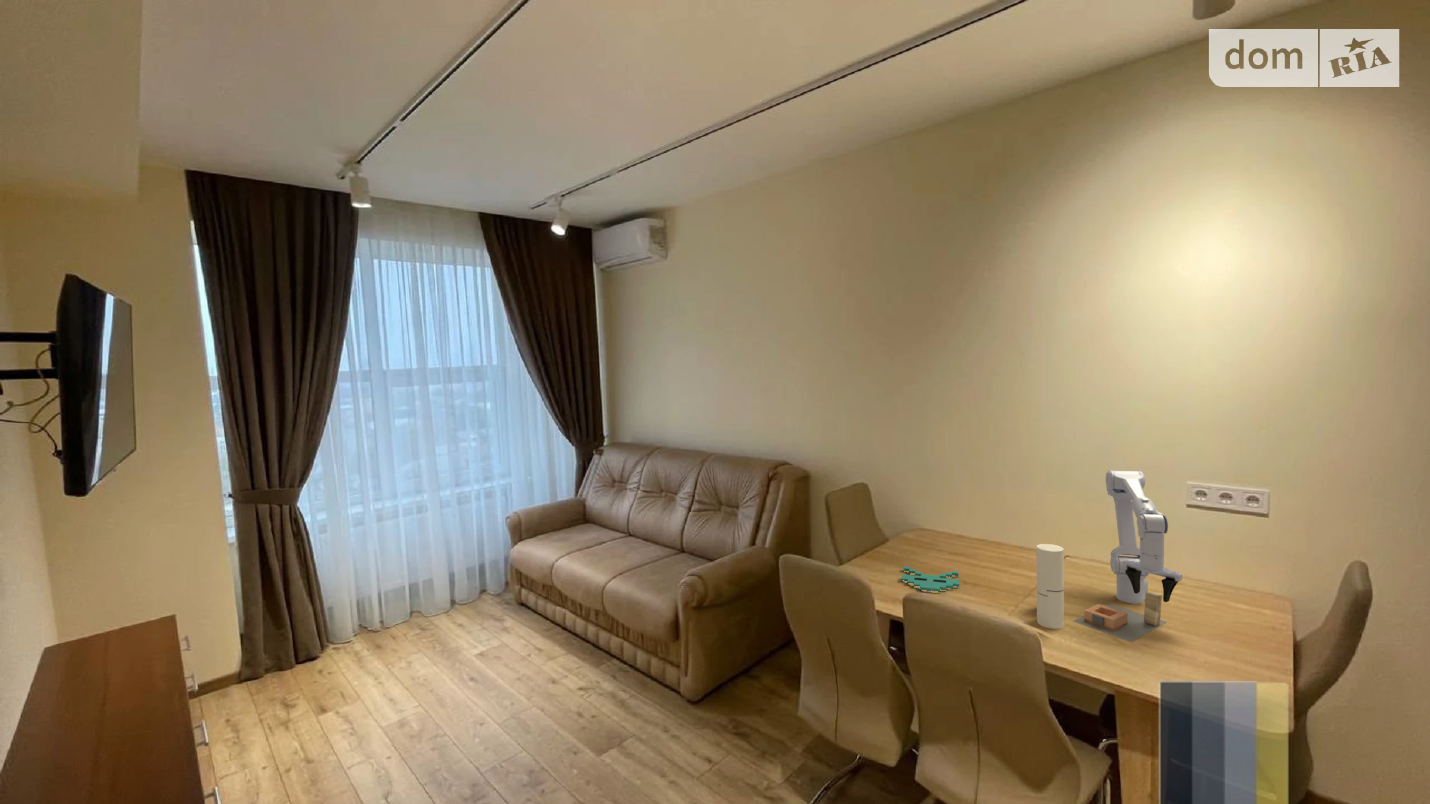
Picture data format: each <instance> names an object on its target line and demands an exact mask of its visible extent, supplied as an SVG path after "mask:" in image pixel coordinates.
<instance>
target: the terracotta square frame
mask: <svg viewBox="0 0 1430 804" xmlns="http://www.w3.org/2000/svg"><path fill="white" fill-rule="evenodd" d="M1083 613H1084V615H1083V616H1084V621H1086V622H1089V623H1092V624H1095V625H1097V626H1100V627H1103V628H1106V629H1109V630H1112V631H1115V630H1117V629H1119V628H1121V627H1123V626H1125V625H1126V624H1127V617H1128V613H1125V612H1122V611H1119V610H1117V609H1114V608H1110V607H1107V606H1105V605H1103V604H1099V603H1097V604H1094V605H1093V606H1090V607H1088V608H1087V609H1084V611H1083Z"/></svg>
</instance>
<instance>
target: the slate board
mask: <svg viewBox="0 0 1430 804" xmlns="http://www.w3.org/2000/svg"><path fill="white" fill-rule="evenodd" d="M1104 606H1107V607H1110V608H1114V609H1117V610H1119V611H1122V612H1125V613H1128V617H1127V624H1126V625H1125V626H1123V627H1121V628H1119V629H1117V630H1115V631H1112V630H1109V629H1106V628H1103V627H1100V626H1097V625H1095V624H1092V623H1089V622H1086V621H1084V615H1083V616H1080V617H1077V618H1076V619H1074V620H1073V622H1075V623H1077V624H1080V625H1083V626H1085V627H1088V628H1091V629H1093V630H1096V631H1099V632H1102V633H1105V634H1107V635H1110V636H1113V637H1116V638H1119V639H1121V640H1125V641H1127V642H1130V643H1133V642H1135V641H1136V640H1138V639H1140V638H1142V637H1143V636H1145V635H1147V634H1149V633H1150V632H1152V631H1154V630H1155V629H1157V628H1159V627H1161V626H1163V625H1164V624H1166V623H1167V621H1165V620H1163V619H1160V624H1159V625H1156V626H1154V625H1151V624H1148V623H1145V622H1144V613H1140V612H1137V611H1134V610H1131V609H1127V608H1124V607H1122V606H1117V605H1114V604H1111V603H1108V604H1106V605H1104Z"/></svg>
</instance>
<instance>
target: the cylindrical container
mask: <svg viewBox="0 0 1430 804" xmlns="http://www.w3.org/2000/svg"><path fill="white" fill-rule="evenodd" d="M1064 550H1065V549H1064V548H1063V547H1062V546H1061V545H1057V544H1050V543H1040V544H1039V543H1038V544H1037V545H1036V622H1037V623H1038V625H1040V626H1042V627H1043V628H1047V629H1051V630H1058V629H1063V628H1064V627H1065V624H1064V623H1065V622H1064V621H1065V618H1064V617H1065V612H1064V611H1065V605H1064V604H1065V596H1064V595H1065V594H1064V593H1065V592H1064V591H1065V589H1064V588H1065V577H1064V574H1065V571H1064V570H1065V562H1064V561H1065V557H1064V555H1065V554H1064Z"/></svg>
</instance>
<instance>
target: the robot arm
mask: <svg viewBox="0 0 1430 804" xmlns="http://www.w3.org/2000/svg"><path fill="white" fill-rule="evenodd" d="M1105 474H1106V475H1105V487H1106V491H1107V495H1108V496H1110V497H1112V499H1113V503H1114V507H1115V516H1116V517H1115V518H1116V525H1117V535H1118V542H1119V543H1118V544H1119V545H1118V546H1117V547H1115V548H1114V549H1112V550H1111V552H1110V560H1109V561H1110V569H1111V571H1112V573H1113V574H1114V575H1116V599H1118V601H1121V602H1124V603H1127V604H1133V605H1135V604H1136V605H1139V604H1143V603H1144V602H1145V597H1146V593H1147V592H1149V590H1148V589H1149V588H1148V587H1149V585H1148V584H1149V582H1148V580H1147V579H1146V578H1147V577H1148V576H1149V575H1150V574H1151V575H1155V576H1159V577H1163V579H1161V584H1162V590H1163V592H1162V593H1163V594H1162V601H1163V602H1162V603H1169V602H1170V600H1171V599H1170V598H1171V595H1172V593H1173V592H1174V589H1175V588H1176V586H1177V585H1178V583H1179V582H1181V581H1183V573H1180V572H1177V571H1174V570H1172V569H1169V568H1165V566H1164V565H1165V559H1164V558H1165V534H1167V533H1168V530H1169V522H1168V519H1167V517H1166V515H1165V514H1164V513H1162V512H1159V511H1158V510H1157V507H1156V506H1155V503H1154V502H1153V500H1152V499H1151V498H1149V497H1147V496H1146V495H1145V492H1144V488H1145V485H1146V479H1145V475H1144V473H1143V471H1141V470H1137V471H1136V470H1135V471H1134V470H1109V469H1108V470H1107V471H1106V473H1105ZM1134 515H1135V517H1136V527H1137V530H1138V531H1137V535H1138V537H1139V547H1138V544H1137V536H1136V527H1135V521H1134V519H1135V518H1134Z"/></svg>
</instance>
